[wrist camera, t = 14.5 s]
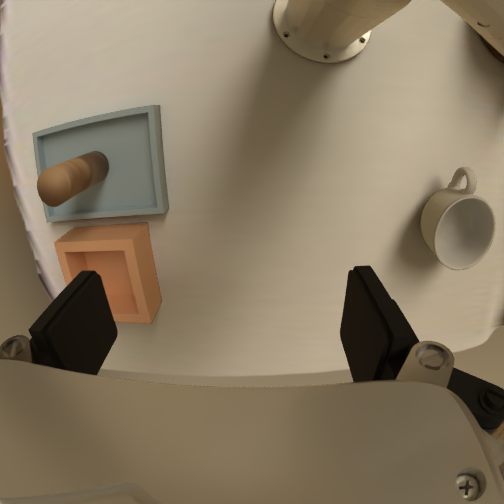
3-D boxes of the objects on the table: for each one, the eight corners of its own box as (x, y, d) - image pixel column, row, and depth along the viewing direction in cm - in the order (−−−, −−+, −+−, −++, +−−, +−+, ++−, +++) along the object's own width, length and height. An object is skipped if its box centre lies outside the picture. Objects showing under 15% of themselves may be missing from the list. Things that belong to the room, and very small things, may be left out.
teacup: (455, 251, 43) (481, 274, 35) (403, 244, 42) (426, 268, 35) (477, 169, 37) (508, 182, 30) (424, 153, 37) (454, 163, 29)
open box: (74, 227, 42) (54, 242, 37) (147, 222, 42) (132, 239, 36) (93, 298, 48) (78, 318, 42) (161, 300, 47) (151, 323, 42)
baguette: (81, 152, 36) (34, 170, 27) (107, 149, 36) (63, 165, 27) (84, 182, 38) (40, 208, 29) (110, 180, 38) (69, 205, 28)
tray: (42, 131, 36) (32, 133, 34) (160, 105, 35) (153, 105, 33) (55, 216, 42) (46, 222, 39) (169, 207, 41) (163, 213, 39)
